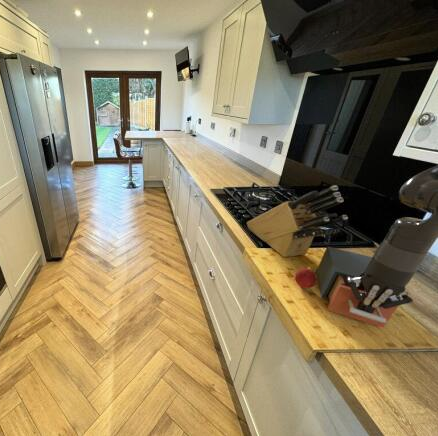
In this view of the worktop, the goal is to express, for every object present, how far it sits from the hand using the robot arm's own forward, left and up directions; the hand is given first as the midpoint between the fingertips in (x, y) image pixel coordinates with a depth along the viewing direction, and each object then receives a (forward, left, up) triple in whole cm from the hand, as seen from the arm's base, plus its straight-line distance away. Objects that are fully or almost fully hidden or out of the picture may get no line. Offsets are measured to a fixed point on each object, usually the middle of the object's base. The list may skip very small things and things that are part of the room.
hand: (362, 313), depth 63 cm
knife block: (+12, -39, -5) cm, 41 cm away
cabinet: (-3, -16, -5) cm, 17 cm away
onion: (+10, -13, -5) cm, 17 cm away
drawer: (-2, -7, -4) cm, 8 cm away
